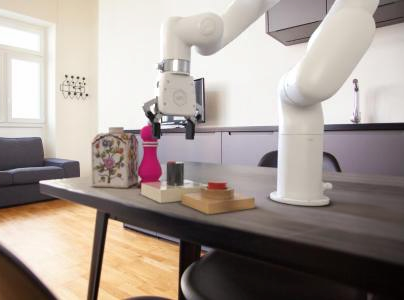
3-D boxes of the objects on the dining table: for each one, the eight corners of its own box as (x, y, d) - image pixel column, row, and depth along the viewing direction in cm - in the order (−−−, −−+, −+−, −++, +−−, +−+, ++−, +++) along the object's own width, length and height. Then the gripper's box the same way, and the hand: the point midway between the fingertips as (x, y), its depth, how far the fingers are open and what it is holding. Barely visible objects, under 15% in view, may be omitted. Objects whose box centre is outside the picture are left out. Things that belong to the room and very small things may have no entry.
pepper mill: (162, 189, 84) (162, 119, 83) (137, 188, 84) (137, 119, 83) (161, 184, 92) (162, 120, 91) (138, 184, 92) (138, 120, 91)
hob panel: (186, 190, 83) (186, 179, 82) (210, 197, 73) (210, 185, 72) (141, 194, 76) (141, 182, 76) (160, 203, 66) (160, 189, 66)
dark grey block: (178, 182, 77) (178, 160, 77) (187, 184, 73) (187, 161, 73) (163, 183, 75) (163, 161, 75) (171, 186, 71) (172, 162, 71)
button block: (223, 198, 71) (224, 182, 71) (254, 208, 62) (254, 189, 62) (181, 203, 66) (181, 186, 66) (208, 214, 57) (208, 194, 57)
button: (218, 187, 67) (218, 179, 67) (230, 190, 63) (230, 182, 63) (204, 188, 65) (204, 180, 65) (215, 191, 61) (215, 183, 61)
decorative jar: (139, 182, 96) (139, 127, 95) (128, 188, 85) (128, 126, 84) (105, 181, 99) (105, 127, 98) (90, 187, 87) (89, 126, 86)
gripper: (150, 63, 66) (148, 139, 67) (212, 71, 73) (210, 140, 74) (137, 69, 73) (136, 138, 73) (195, 77, 80) (193, 139, 81)
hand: (173, 139), depth 74 cm, fingers open, 9 cm apart
